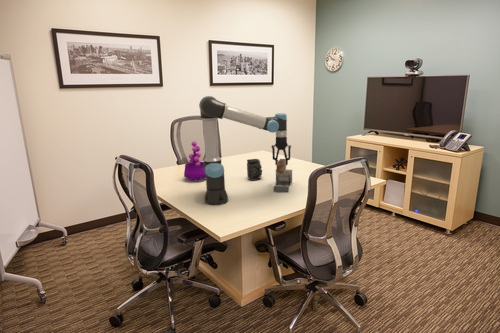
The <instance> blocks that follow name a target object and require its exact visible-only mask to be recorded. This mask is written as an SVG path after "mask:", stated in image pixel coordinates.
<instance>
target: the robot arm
mask: <svg viewBox="0 0 500 333" xmlns="http://www.w3.org/2000/svg"><path fill="white" fill-rule="evenodd" d="M198 105H199V111H200V119H201V121H203V133H204V134H203V136H204V139H203V140H204V151H205V152H204V153H205V154H204V155H205V158H203V162H204V173H205V177H206V178H205V185H206V191H205V195H204V198H203V199H204V203H205V204H206V205H210V206H219V205H223V204H227V202H228V201H229V196H228V193H227V191H226V183H225V182H226V181H225V167H224V165H223V164H222V158H221V157H220V156H219V154H220V153H219V140H218V139H219V137H218V136H219V135H218V119H220V120H223V119H226V120H229V121H233V122H235V123H236V122H237V123H239V124H243V125H247V126H250V127H253V128H257V129H259V130H263V131H266V132H267V131H268V132H269V133H272V134H273V133H275V144H272V145H271V146H270V147H271V150H272V160H274V161H275V162H274V163H275V166H276V165H277V163H278V161H279V154H280V151H283V155H284V159H286V160H285V170H286V169H287V166H288V164H289V163H288V162H289V161H290V160H291V148H292V145H291V144H288V137H287V134H288V133H287V131H288V129H287V127H288V126H287V123H288V120H287V113H285V112H276V113H275V114H274V116H267V117H264V116H262V115H259V114H255V113H253V112H249V111H246V110H242V109H239V108H236V107H232V106H229V105H227V103H226V102H222V101H220V100H217V98H216V97H214V96H210V95H207V96H204V97H202V98H201V99H200V101H199V104H198ZM286 148H288V153H287V151H286ZM276 149H277V151H276ZM275 151H276V152H275ZM275 153H276V154H275Z"/></svg>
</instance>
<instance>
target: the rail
mask: <svg viewBox="0 0 500 333" xmlns="http://www.w3.org/2000/svg"><path fill="white" fill-rule="evenodd" d="M285 160H286V159H285V158H279V159H278V163H277V165H276V164H275V166H276V169H277V173H280V174H283V173H284V171H285Z"/></svg>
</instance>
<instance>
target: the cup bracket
mask: <svg viewBox="0 0 500 333" xmlns="http://www.w3.org/2000/svg"><path fill="white" fill-rule="evenodd" d="M275 183H276V184H275V186H291V184H293V169H287V168H286V170H285V171H284V173H283V174H280V173H277V168H276V169H275Z"/></svg>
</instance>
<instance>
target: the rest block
mask: <svg viewBox="0 0 500 333" xmlns="http://www.w3.org/2000/svg"><path fill="white" fill-rule="evenodd" d="M272 188H273V193H289V192H290V185H274V186H273V187H272Z"/></svg>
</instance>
